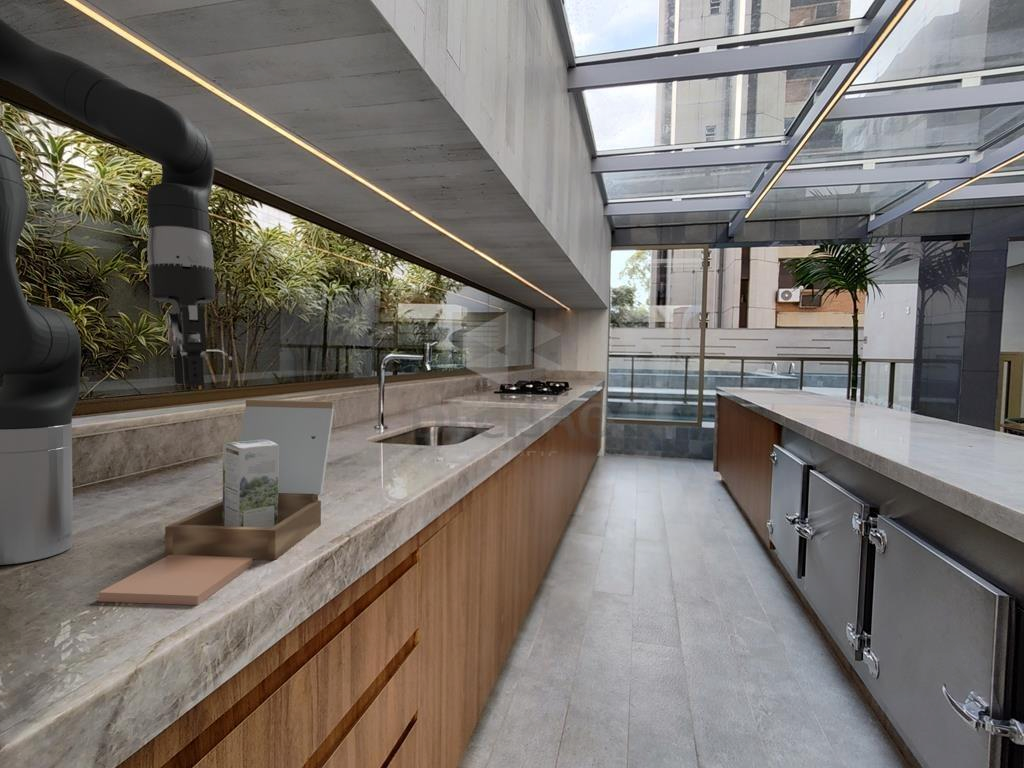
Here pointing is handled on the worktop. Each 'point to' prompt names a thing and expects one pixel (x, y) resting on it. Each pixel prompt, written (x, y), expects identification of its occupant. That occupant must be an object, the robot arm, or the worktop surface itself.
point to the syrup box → (250, 484)
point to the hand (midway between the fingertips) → (188, 384)
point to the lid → (293, 439)
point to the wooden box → (244, 531)
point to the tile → (177, 580)
